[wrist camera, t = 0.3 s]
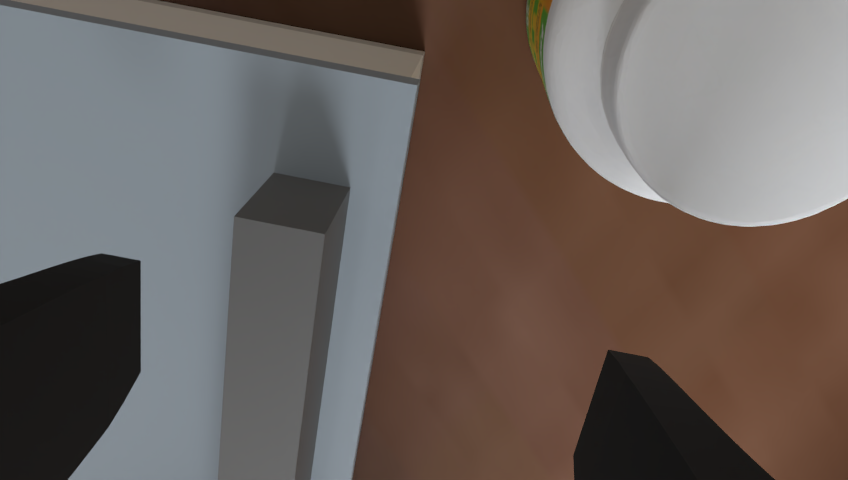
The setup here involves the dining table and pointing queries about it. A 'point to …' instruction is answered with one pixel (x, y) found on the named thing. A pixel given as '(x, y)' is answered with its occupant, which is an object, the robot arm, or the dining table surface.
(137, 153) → the lid
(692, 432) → the robot arm
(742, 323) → the dining table surface
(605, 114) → the supplement bottle
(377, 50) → the white square shallow box
